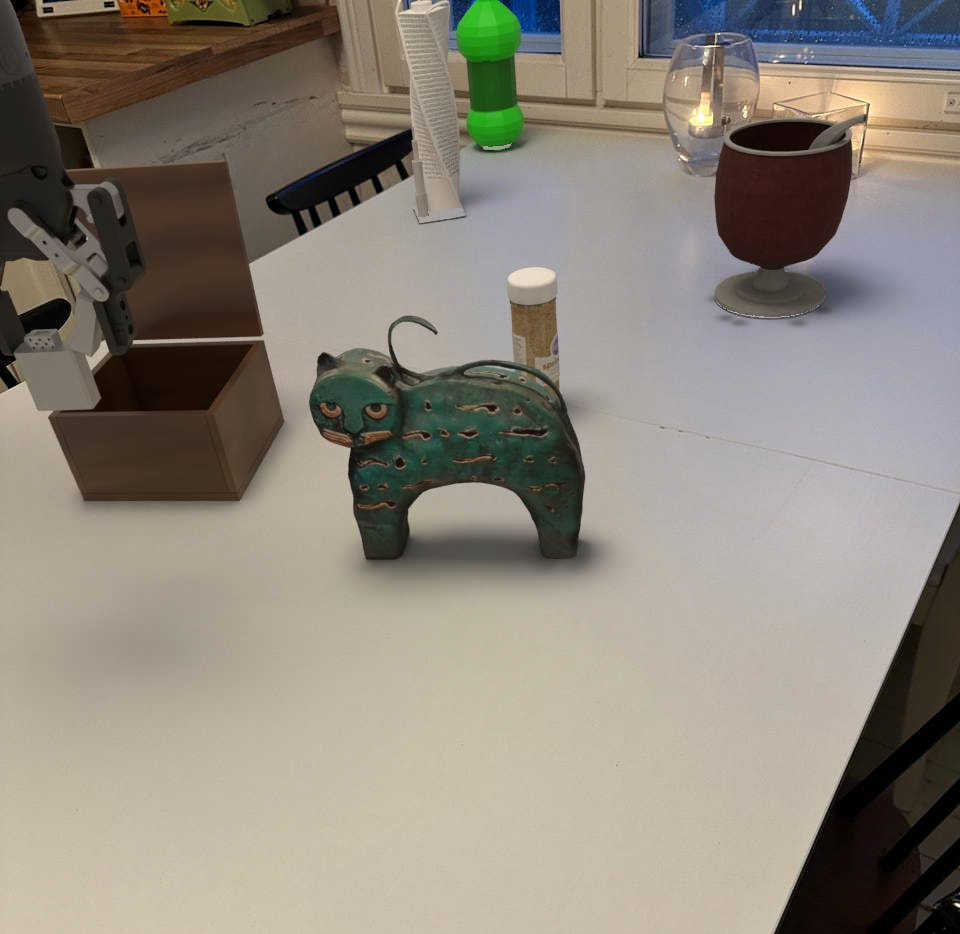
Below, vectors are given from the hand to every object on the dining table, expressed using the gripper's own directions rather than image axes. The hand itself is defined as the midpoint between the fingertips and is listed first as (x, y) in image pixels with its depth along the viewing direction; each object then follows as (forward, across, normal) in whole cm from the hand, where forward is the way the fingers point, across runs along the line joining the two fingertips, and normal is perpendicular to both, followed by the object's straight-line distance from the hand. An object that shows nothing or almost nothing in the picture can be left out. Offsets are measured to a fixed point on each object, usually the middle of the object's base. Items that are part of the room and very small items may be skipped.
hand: (69, 349), depth 65 cm
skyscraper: (+21, -7, -91) cm, 94 cm away
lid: (+4, +6, -28) cm, 29 cm away
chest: (+21, +6, -21) cm, 30 cm away
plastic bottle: (+22, -11, -123) cm, 125 cm away
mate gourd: (+21, -52, -56) cm, 79 cm away
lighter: (+4, 0, 0) cm, 4 cm away
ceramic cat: (+21, -24, -7) cm, 33 cm away
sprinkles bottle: (+21, -28, -30) cm, 46 cm away
